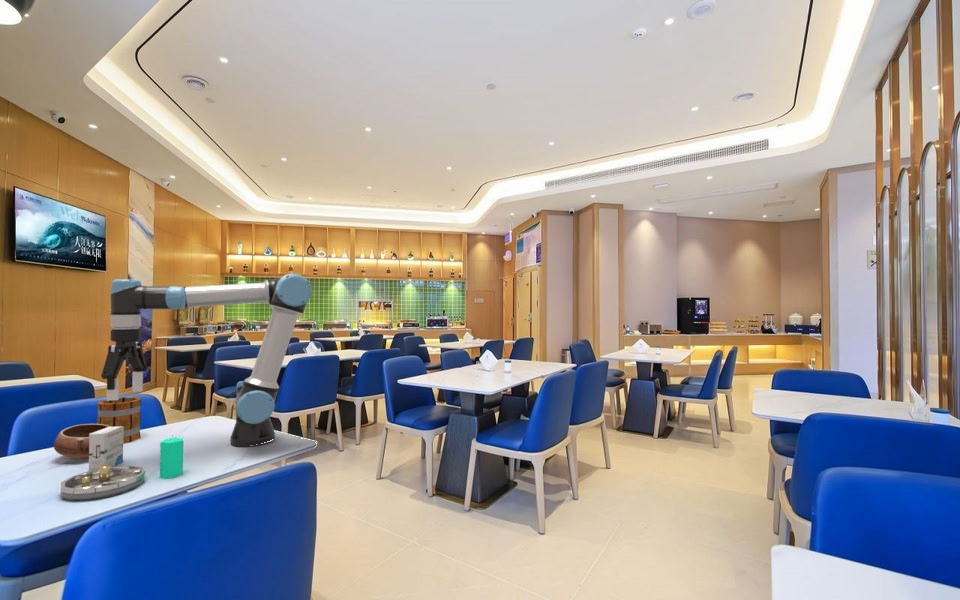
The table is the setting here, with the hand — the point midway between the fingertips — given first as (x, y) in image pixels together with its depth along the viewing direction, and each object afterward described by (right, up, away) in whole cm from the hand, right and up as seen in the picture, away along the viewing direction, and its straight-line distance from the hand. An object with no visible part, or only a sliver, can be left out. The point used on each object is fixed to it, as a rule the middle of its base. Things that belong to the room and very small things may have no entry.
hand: (125, 395), depth 143 cm
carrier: (+6, -23, -16) cm, 28 cm away
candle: (+18, -23, -6) cm, 30 cm away
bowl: (-21, -23, +10) cm, 33 cm away
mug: (-26, -23, +31) cm, 47 cm away
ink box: (-7, -23, +1) cm, 24 cm away
